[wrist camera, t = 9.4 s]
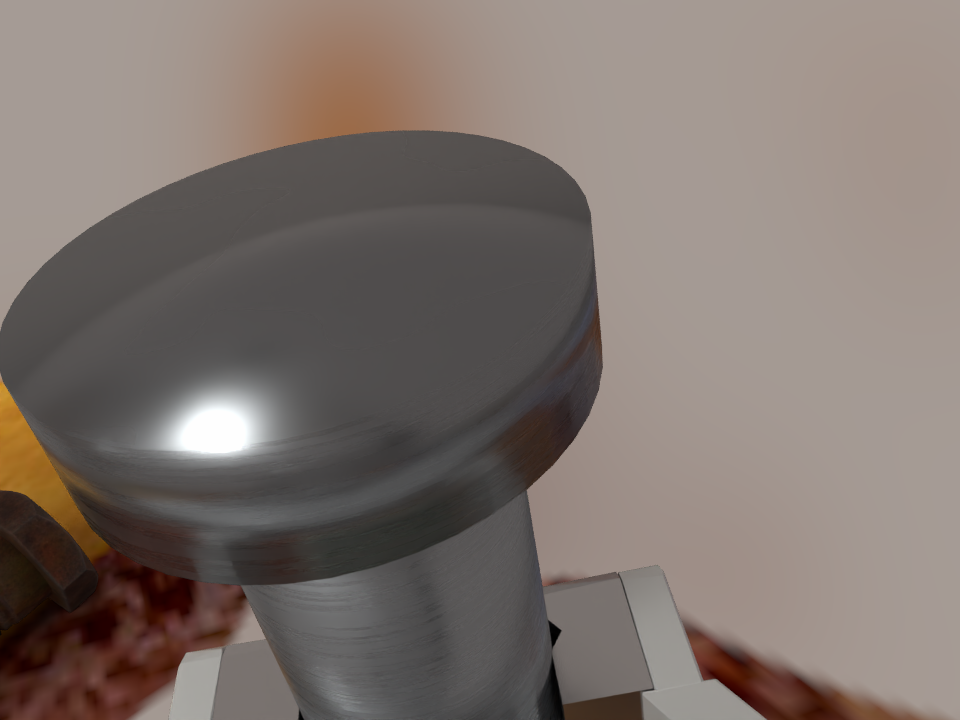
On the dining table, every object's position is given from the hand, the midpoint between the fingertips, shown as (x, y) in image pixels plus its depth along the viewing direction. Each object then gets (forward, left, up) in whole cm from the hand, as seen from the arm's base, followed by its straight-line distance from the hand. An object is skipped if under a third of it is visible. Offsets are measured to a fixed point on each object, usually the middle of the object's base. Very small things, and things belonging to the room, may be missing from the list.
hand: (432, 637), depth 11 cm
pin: (0, -1, -9) cm, 9 cm away
